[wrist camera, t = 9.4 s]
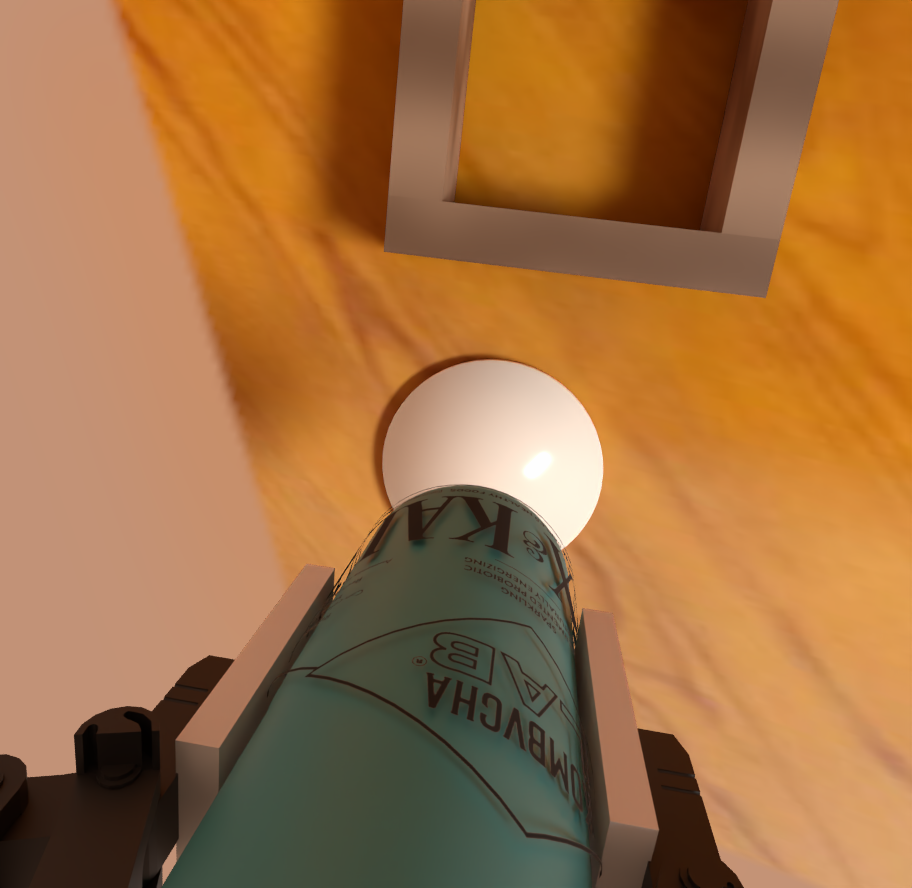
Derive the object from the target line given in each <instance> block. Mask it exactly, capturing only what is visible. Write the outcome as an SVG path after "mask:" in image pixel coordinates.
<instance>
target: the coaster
mask: <svg viewBox="0 0 912 888" xmlns="http://www.w3.org/2000/svg"><path fill="white" fill-rule="evenodd" d="M382 470H383V478H384V484H385V488H386V492H387V495H388V498H389V500H390V503H391V505H392V506H393V507H392V508H394V509H393V510H395V509H396V508H397V507H396V506H400V505H401V503H404V502H406V500H408V499H411V498H413V497H414V496H416V495H419V494H421V493H424V492H426V491H430V490H433V489H437V488H441V487H436V486H442V487H448V486H444V485H450V486H455V485H459V484H466V485H477V486H483V487H487V488H492V489H495V490H498V491H501V492H504V493H506V494H509V495H511V496H513V497H515V498H517V499H519V500H520V501H522V502H523V503H525V504H526V505H528V506H529V507H531V508H532V509H533V510H534V511H533V510H532V509H531V508H529V507H528V506H527V507H528V508H529V509H530V510H531V511H533V512H534V513H535V514H536V515H537V516H538V517H539V518H540V519H541V521H542V522H543V523H544V524H545V525H546V526H547V528H548V529H549V530H550V532H551V533H552V534H553V536H554V537H555V539H556V540H557V543H558V542H559V543H558V544H559V547H560V545H561V548H560V549H561V550H562V549H563V548H564V547H566V546H567V545H568V544H569V543H570V542H571V541H572V540H573V539H574V538H575V537H576V536H577V535H578V534H579V533H580V531H581V530H582V529H583V528H584V526H585V525H586V524H587V522H588V520H589V518H590V517H591V515H592V513H593V511H594V509H595V506H596V504H597V502H598V498H599V495H600V491H601V487H602V479H603V457H602V451H601V445H600V442H599V439H598V435H597V432H596V429H595V427H594V425H593V423H592V420H591V418H590V416H589V414H588V413H587V411H586V410H585V408H584V407H583V405H582V404H581V402H580V401H579V400H578V399H577V398H576V397H575V396H574V394H573V393H572V392H571V391H570V390H569V389H567V388H566V387H565V386H564V385H563V384H562V383H561V382H559V381H558V380H556V379H555V378H553V377H552V376H550V375H549V374H547V373H545V372H543V371H541V370H539V369H537V368H534V367H532V366H529V365H526V364H523V363H519V362H514V361H509V360H501V359H481V360H473V361H468V362H463V363H459V364H456V365H453V366H450V367H448V368H446V369H444V370H442V371H440V372H438V373H436V374H434V375H432V376H431V377H430V378H428V379H427V380H425V381H424V382H422V383H421V384H420V385H419V386H418V387H417V388H416V389H415V390H413V391H412V393H411V394H410V395H409V396H408V397H407V398H406V400H405V401H404V402H403V403H402V404H401V406H400V408H399V409H398V411H397V412H396V414H395V415H394V417H393V420H392V422H391V424H390V426H389V428H388V432H387V435H386V438H385V442H384V449H383V459H382ZM432 487H435V488H432ZM429 488H431V489H429ZM425 489H427V490H425ZM422 490H423V491H422ZM419 491H421V492H419ZM417 492H418V493H417ZM414 493H416V494H414ZM412 494H413V495H412ZM410 495H411V496H410ZM408 496H409V497H408ZM406 497H407V498H406ZM404 498H405V499H404ZM403 499H404V500H403ZM517 499H516V500H517ZM401 500H402V501H401ZM519 500H518V501H519ZM399 501H400V502H399ZM520 501H519V502H520ZM522 502H521V503H522ZM396 503H397V504H396ZM523 503H522V504H523ZM395 504H396V505H395ZM525 504H524V505H525ZM526 505H525V506H526ZM535 511H536V512H537V513H538V514H539V515H540V516H541V517H540V516H539V515H538V514H537V513H536V512H535ZM542 517H543V518H542ZM544 520H545V521H546V522H547V523H548V524H549V525H550V526H551V527H552V528H551V527H550V526H549V525H548V524H547V523H546V522H545V521H544ZM553 530H554V531H555V532H554V531H553ZM555 533H556V534H557V535H556V534H555ZM558 537H559V538H560V539H559V538H558ZM560 540H561V541H560ZM561 542H562V543H561ZM562 544H563V545H562ZM563 546H564V547H563Z"/></svg>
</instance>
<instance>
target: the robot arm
mask: <svg viewBox="0 0 912 888" xmlns="http://www.w3.org/2000/svg"><path fill="white" fill-rule="evenodd" d="M334 572H335V568H330V567H324V566H318V565H311V564H306V565H305V567H304V568H303V569H302V571H301V572H300V573H299V575H298V576H297V577H296V579H295V580H294V581H293V583H292V584H291V585H290V587H289V588H288V589H287V591H286V592H285V593H284V595H283V596H282V598H281V599H280V600H279V602H278V603H277V604H276V606H275V607H274V608H273V610H272V611H271V612H270V614H269V615H268V616H267V618H266V619H265V620H264V622H263V623H262V624H261V626H260V627H259V628H258V630H257V631H256V633H255V634H254V635H253V637H252V638H251V639H250V641H249V642H248V643H247V645H246V646H245V647H244V649H243V650H242V651H241V653H240V654H239V656H238V657H237V658H236V659H235V660H233V659H228V658H222V657H215V656H210V655H209V656H208V657H206V658H204V659H202V660H201V661H199V662H197V663H196V664H194V665H193V666H191V667H189V668H188V669H187V671H186V672H185V673H184V674H183V675H182V676H181V678H180V679H179V680H178V681H177V682H176V684H175V687H172V688H171V690H170V691H169V692H168V693H167V694H166V695H165V697H164V700H161V701H160V703H159V704H158V705H157V706H156V707H155V708H154V710H153V711H152V712H151V711H149V710H147V709H144V708H142V707H131V706H126V707H119V708H114V709H110V710H107V711H104V712H102V713H99V714H97V715H95V716H93V717H92V718H90V719H89V720H88V721H86V722H85V723H83V724H82V725H81V726H80V728H79V729H78V730H77V732H76V733H75V734H74V742H75V758H76V773H71V774H65V775H54V776H41V777H28V778H27V770H26V765H25V764H24V763H23V762H22V761H21V760H20V759H19V758H17V757H13V756H10V755H7V754H5V755H0V888H161V887H162V865H163V863H164V862H165V860H166V859H167V857H168V855H169V854H170V852H171V850H172V849H173V847H174V845H175V844H177V861H178V859H179V857H180V856H181V854H182V852H183V851H184V849H185V847H186V846H187V844H188V842H189V841H190V839H191V837H192V836H193V834H194V832H195V831H196V829H197V827H198V826H199V824H200V822H201V821H202V819H203V817H204V816H205V814H206V812H207V811H208V809H209V807H210V806H211V804H212V802H213V801H214V799H215V797H216V796H217V794H218V792H219V791H220V789H221V787H222V786H223V784H224V782H225V781H226V779H227V777H228V776H229V774H230V772H231V771H232V769H233V767H234V766H235V764H236V762H237V761H238V759H239V757H240V756H241V754H242V752H243V751H244V749H245V747H246V746H247V744H248V742H249V741H250V739H251V737H252V736H253V734H254V732H255V731H256V729H257V727H258V726H259V724H260V722H261V721H262V719H263V717H264V716H265V714H266V712H267V710H268V708H269V705H270V703H271V701H272V699H273V698H274V696H275V694H276V692H277V690H278V689H279V687H280V685H281V684H282V682H283V680H284V679H285V677H286V675H287V674H288V673H286V674H284V675H282V676H280V677H278V676H279V675H280V674H282V673H284V672H286V671H288V670H290V669H291V667H292V666H293V664H294V663H295V661H296V659H297V658H298V656H299V654H300V653H301V651H302V650H303V648H304V646H305V645H306V643H307V642H308V640H309V638H310V637H311V635H312V634H313V632H314V630H315V629H316V627H317V626H318V625H317V626H316V627H313V626H314V625H316V624H318V622H319V621H321V619H322V618H323V616H324V612H325V613H326V610H327V609H328V608H329V606H330V605H331V604H330V603H332V602H333V598H332V596H333V591H332V589H333V587H334ZM331 591H332V593H331V594H332V595H331V594H330V592H331ZM329 594H330V596H329ZM328 596H329V598H328ZM327 598H328V599H327ZM330 598H332V599H330ZM326 599H327V600H326ZM329 599H330V600H329ZM325 601H326V602H325ZM324 602H325V603H326V604H325V605H324V604H323V603H324ZM329 604H330V605H329ZM327 605H328V607H327ZM323 606H324V607H323ZM326 607H327V608H326ZM322 608H323V609H322ZM324 608H325V609H324ZM319 610H320V611H319ZM321 611H323V612H321ZM317 612H318V613H317ZM319 613H321V614H322V615H321V618H320V620H319V618H318V617H319V616H320V614H319ZM318 614H319V615H318ZM315 615H316V616H317V615H318V616H317V617H316V616H315ZM315 617H316V618H315ZM313 618H314V619H315V620H316V619H317V620H316V621H315V620H313ZM318 620H319V621H318ZM312 621H313V622H312ZM311 622H312V623H311ZM310 623H311V624H310ZM310 625H311V627H308V626H310ZM312 627H313V628H312ZM311 628H312V629H311ZM309 629H310V631H309ZM306 630H307V631H306ZM305 631H306V632H307V633H309V635H308V637H306V636H307V633H306V632H305ZM308 631H309V632H308ZM304 632H305V633H304ZM304 634H306V635H305V636H304ZM302 635H303V636H302ZM302 637H303V638H302ZM578 639H579V640H578ZM299 640H300V642H299ZM298 642H299V643H298ZM295 646H296V647H295ZM293 651H294V652H293ZM290 658H291V660H290ZM574 658H575V670H576V683H577V695H578V707H579V715H580V717H579V720H580V718H581V720H580V731H581V733H582V735H583V737H582V735H581V742H582V754H583V766H584V774H585V776H586V778H587V781H588V773H589V782H588V783H587V781H586V778H585V776H584V781H585V789H586V793H587V799H588V806H589V796H590V802H591V813H592V824H593V835H594V838H593V835H592V832H591V820H590V821H589V826H588V831H589V844H590V850H592V851H593V852H594V853H595V854H596V855H597V856H598V857H599V859H600V861H601V863H602V875H601V877H600V878H599V876H600V871H601V865H600V863H599V861H598V860H597V859H596V858H594V857H593V856H592V855H591V854H590V857H591V870H592V888H744V887H743V886H742V884H741V882H740V881H739V879H738V877H737V875H736V874H735V873H734V872H733V871H732V870H731V869H730V868H729V867H727V865H726V864H725V863H724V862H722V861H721V859H720V856H719V853H718V849H717V846H716V843H715V839H714V836H713V833H712V830H711V826H710V823H709V820H708V816H707V813H706V810H705V807H704V803H703V800H702V797H701V796H700V790H699V787H698V784H697V780H696V779H695V774H694V770H693V767H692V764H691V761H690V757H689V754H688V753H687V752H686V750H685V749H684V748H683V747H682V745H681V744H680V743H679V742H678V740H677V739H676V738H675V736H674V735H672V734H666V733H660V732H655V731H649V730H643V729H637V725H636V720H635V715H634V711H633V706H632V701H631V696H630V692H629V687H628V682H627V678H626V673H625V668H624V663H623V659H622V654H621V649H620V645H619V640H618V635H617V631H616V626H615V621H614V616H613V613H609V612H603V611H597V610H590V609H584V608H583V609H582V614H581V620H580V625H579V630H578V635H577V641H576V646H575V654H574ZM289 661H290V662H289ZM277 677H278V678H277ZM276 678H277V679H276ZM275 679H276V680H275ZM274 680H275V681H274ZM273 681H274V682H273ZM272 682H273V683H272ZM268 690H269V694H268V697H267V692H268ZM581 721H582V723H581ZM582 725H583V727H582ZM583 729H584V731H583ZM584 732H585V734H584ZM585 736H586V738H585ZM583 738H584V740H583ZM586 739H587V742H586ZM584 741H585V743H586V749H585V743H584ZM587 743H588V745H587ZM588 748H589V749H588ZM586 751H587V760H586ZM589 754H590V755H589ZM590 759H591V761H590ZM587 762H588V771H587ZM591 765H592V767H591ZM592 771H593V773H592ZM593 780H594V781H593ZM588 784H590V789H589V786H588ZM588 793H589V796H588ZM594 793H595V794H594ZM586 806H587V803H586ZM587 814H588V808H587Z"/></svg>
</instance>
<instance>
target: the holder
mask: <svg viewBox="0 0 912 888" xmlns="http://www.w3.org/2000/svg"><path fill="white" fill-rule="evenodd" d="M838 2H839V0H748V4H747V9H746V14H745V18H744V23H743V28H742V33H741V37H740V42H739V47H738V51H737V56H736V61H735V66H734V70H733V75H732V80H731V85H730V89H729V94H728V99H727V104H726V108H725V113H724V118H723V123H722V127H721V132H720V137H719V142H718V146H717V151H716V156H715V161H714V165H713V170H712V175H711V180H710V184H709V189H708V194H707V198H706V203H705V208H704V213H703V217H702V222H701V227H700V231H698V230H690V229H681V228H672V227H663V226H654V225H646V224H637V223H628V222H619V221H610V220H602V219H593V218H584V217H575V216H567V215H558V214H549V213H540V212H531V211H523V210H514V209H505V208H496V207H487V206H479V205H470V204H461V203H454V201H455V191H456V182H457V172H458V163H459V154H460V144H461V135H462V125H463V116H464V107H465V97H466V88H467V78H468V69H469V60H470V50H471V41H472V31H473V22H474V13H475V3H476V0H404V1H403V14H402V27H401V39H400V52H399V65H398V77H397V90H396V103H395V116H394V128H393V141H392V154H391V167H390V179H389V192H388V205H387V217H386V230H385V243H384V252H391V253H399V254H408V255H416V256H424V257H433V258H441V259H449V260H457V261H466V262H474V263H482V264H490V265H499V266H507V267H515V268H523V269H532V270H540V271H548V272H556V273H565V274H573V275H581V276H589V277H598V278H606V279H614V280H622V281H631V282H639V283H647V284H655V285H664V286H672V287H680V288H688V289H697V290H705V291H713V292H721V293H730V294H738V295H746V296H754V297H763V298H766V295H767V291H768V287H769V282H770V278H771V274H772V270H773V266H774V262H775V258H776V254H777V250H778V246H779V242H780V238H781V234H782V230H783V225H784V221H785V217H786V213H787V209H788V205H789V201H790V197H791V193H792V189H793V185H794V181H795V177H796V173H797V168H798V164H799V160H800V156H801V152H802V148H803V144H804V140H805V136H806V132H807V128H808V124H809V120H810V116H811V111H812V107H813V103H814V99H815V95H816V91H817V87H818V83H819V79H820V75H821V71H822V67H823V63H824V59H825V54H826V50H827V46H828V42H829V38H830V34H831V30H832V26H833V22H834V18H835V14H836V10H837V6H838Z"/></svg>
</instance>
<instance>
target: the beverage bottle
mask: <svg viewBox="0 0 912 888" xmlns="http://www.w3.org/2000/svg"><path fill="white" fill-rule="evenodd" d="M444 486H448V487H442V486H436V487H441V488H437V489H433V490H430V491H426V492H424V493H421V494H419V495H416V496H414V497H413V498H411V499H408V500H406V502H404V503H401V505H400V506H396V507H397V508H396V509H395V510H394V511H393V510H391V511H393V512H392V513H391V514H390V515H389V516H388V517H387V518H385V519H384V521H383V523H382V524H381V525H380V526H379V528H378V529H377V531H376V533H375V534H374V536H373V537H372V539H371V541H370V542H369V544H368V545H367V547H366V549H365V550H364V552H363V553H362V555H361V557H360V556H359V557H360V558H359V560H358V562H357V563H356V562H355V563H356V564H355V565H354V568H353V570H352V571H351V569H350V572H351V573H350V572H349V574H348V576H347V579H346V581H345V582H344V583H343V586H342V587H341V589H340V590H339V592H337V593H338V594H335V593H336V591H337V590H338V588H339V587H340V586H341V583H340V585H339V584H338V586H337V588H336V590H335V592H333V593H334V594H333V596H334V595H335V596H336V597H335V598H334V597H333V596H332V598H334V600H333V602H332V603H330V604H331V605H330V604H329V605H330V606H329V608H328V609H327V610H326V613H325V612H324V616H323V618H322V619H321V621H319V620H320V618H321V615H322V614H321V613H319V614H320V616H319V617H318V618H319V620H318V621H319V622H318V624H316V625H314V626H313V627H316V626H317V625H318V626H317V627H316V629H315V630H314V632H313V634H312V635H311V637H310V638H309V640H308V642H307V643H306V645H305V646H304V648H303V650H302V651H301V653H300V654H299V656H298V658H297V659H296V661H295V663H294V664H293V666H292V667H291V669H290V670H288V671H286V672H284V673H282V674H280V675H279V676H278V677H280V676H282V675H284V674H286V673H288V674H287V675H286V677H285V679H284V680H283V682H282V684H281V685H280V687H279V689H278V690H277V692H276V694H275V696H274V698H273V699H272V701H271V703H270V705H269V708H268V710H267V712H266V714H265V716H264V717H263V719H262V721H261V722H260V724H259V726H258V727H257V729H256V731H255V732H254V734H253V736H252V737H251V739H250V741H249V742H248V744H247V746H246V747H245V749H244V751H243V752H242V754H241V756H240V757H239V759H238V761H237V762H236V764H235V766H234V767H233V769H232V771H231V772H230V774H229V776H228V777H227V779H226V781H225V782H224V784H223V786H222V787H221V789H220V791H219V792H218V794H217V796H216V797H215V799H214V801H213V802H212V804H211V806H210V807H209V809H208V811H207V812H206V814H205V816H204V817H203V819H202V821H201V822H200V824H199V826H198V827H197V829H196V831H195V832H194V834H193V836H192V837H191V839H190V841H189V842H188V844H187V846H186V847H185V849H184V851H183V852H182V854H181V856H180V857H179V859H178V861H177V862H176V864H175V866H174V867H173V869H172V871H171V872H170V874H169V876H168V877H167V879H166V881H165V882H164V884H163V886H162V887H161V888H592V870H591V857H590V854H591V855H592V856H593V857H594V858H596V859H597V860H598V861H599V863H600V865H601V871H600V876H599V878H600V877H601V875H602V863H601V861H600V859H599V857H598V856H597V855H596V854H595V853H594V852H593V851H592V850H590V844H589V831H588V826H589V821H590V820H591V832H592V835H593V824H592V813H591V802H590V796H589V793H588V796H589V806H588V799H587V793H586V789H585V781H584V776H585V774H584V766H583V754H582V742H581V735H582V733H581V731H580V720H581V718H580V720H579V717H580V715H579V707H578V695H577V683H576V670H575V658H574V654H575V650H574V646H576V638H577V635H578V633H577V628H578V618H577V627H576V622H575V617H574V612H573V607H572V602H571V597H570V592H569V581H570V580H571V579H572V577H571V574H570V575H569V576H568V572H567V568H566V563H565V559H564V557H563V554H562V551H561V549H560V548H561V545H560V547H559V544H558V543H559V542H558V543H557V540H556V539H555V537H554V536H553V534H552V533H551V532H550V530H549V529H548V528H547V526H546V525H545V524H544V523H543V522H542V521H541V519H540V518H539V517H538V516H537V515H536V514H535V513H534V512H533V511H534V510H533V509H532V508H531V507H529V506H528V505H526V504H525V503H523V502H522V501H520V500H519V499H517V498H515V497H513V496H511V495H509V494H506V493H504V492H501V491H498V490H495V489H492V488H487V487H483V486H477V485H466V484H459V485H455V486H450V485H444ZM432 488H435V487H432ZM429 489H431V488H429ZM425 490H427V489H425ZM422 491H423V490H422ZM419 492H421V491H419ZM417 493H418V492H417ZM414 494H416V493H414ZM412 495H413V494H412ZM410 496H411V495H410ZM408 497H409V496H408ZM406 498H407V497H406ZM404 499H405V498H404ZM404 499H403V500H404ZM516 499H517V500H516ZM518 500H519V501H520V502H519V501H518ZM401 501H402V500H401ZM399 502H400V501H399ZM521 502H522V503H523V504H522V503H521ZM396 504H397V503H396ZM396 504H395V505H396ZM524 504H525V505H526V506H525V505H524ZM527 506H528V507H529V508H531V509H532V510H533V511H531V510H530V509H529V508H528V507H527ZM392 507H393V506H392ZM392 507H391V508H392ZM393 509H394V508H393ZM386 512H387V511H386ZM386 512H385V513H386ZM535 512H536V511H535ZM385 513H384V514H385ZM388 513H390V512H388ZM536 513H537V512H536ZM384 514H383V515H384ZM537 514H538V513H537ZM383 515H382V516H383ZM386 515H387V513H386ZM538 515H539V514H538ZM382 516H381V517H382ZM384 516H385V515H384ZM384 516H383V517H384ZM539 516H540V515H539ZM381 517H380V518H381ZM540 517H541V516H540ZM380 518H379V519H380ZM542 518H543V517H542ZM380 520H381V519H380ZM544 521H545V520H544ZM381 522H382V521H381ZM381 522H380V523H381ZM545 522H546V521H545ZM377 523H378V522H377ZM377 523H375V525H376V524H377ZM380 523H379V524H380ZM546 523H547V522H546ZM379 524H378V525H379ZM547 524H548V523H547ZM378 525H377V526H378ZM548 525H549V524H548ZM377 526H376V527H377ZM549 526H550V525H549ZM376 527H375V528H376ZM550 527H551V526H550ZM375 528H374V529H375ZM551 528H552V527H551ZM372 529H373V528H372ZM372 529H371V530H372ZM374 529H373V530H374ZM371 530H370V531H371ZM373 530H372V531H373ZM372 531H371V532H372ZM553 531H554V530H553ZM371 532H370V533H371ZM554 532H555V531H554ZM370 533H368V534H370ZM555 534H556V533H555ZM556 535H557V534H556ZM368 536H369V535H368ZM368 536H367V537H368ZM558 538H559V537H558ZM366 539H367V538H366ZM366 539H365V540H366ZM559 539H560V538H559ZM560 541H561V540H560ZM364 542H365V541H364ZM561 543H562V542H561ZM362 544H363V543H362ZM362 544H361V546H362ZM562 545H563V544H562ZM362 547H363V546H362ZM563 547H564V546H563ZM358 550H359V549H358ZM565 550H566V549H565ZM359 551H360V550H359ZM360 553H361V552H360ZM563 553H564V551H563ZM356 554H357V552H356ZM356 554H355V555H354V557H355V556H356ZM564 555H565V553H564ZM567 555H568V554H567ZM357 556H358V555H357ZM354 557H353V558H352V560H353V559H355V558H354ZM568 558H569V557H568ZM566 559H567V556H566ZM352 560H351V561H350V563H351V562H352ZM353 561H354V560H353ZM355 561H357V557H356V560H355ZM567 561H568V559H567ZM569 561H570V560H569ZM350 563H349V565H350ZM570 563H571V562H570ZM352 564H353V563H352ZM349 565H348V566H349ZM348 566H347V568H348ZM569 567H570V564H569ZM347 568H346V569H347ZM351 568H352V565H351ZM346 569H345V571H346ZM568 570H569V569H568ZM345 571H344V572H343V574H344V573H345ZM572 572H573V571H572ZM569 573H570V571H569ZM343 574H342V575H341V577H342V576H343ZM341 577H340V578H339V580H341ZM339 580H338V582H340V581H339ZM572 581H574V580H572ZM338 582H337V583H338ZM337 583H336V585H337ZM336 585H335V586H334V587H333V589H332V591H333V590H334V588H335V587H336ZM574 588H575V587H574ZM332 591H331V592H330V594H331V593H332ZM574 592H575V589H574ZM330 594H329V596H330ZM331 595H332V594H331ZM329 596H328V598H329ZM575 597H576V596H575ZM328 598H327V599H328ZM332 598H330V599H332ZM327 599H326V600H327ZM330 599H329V600H330ZM575 599H576V598H575ZM325 602H326V601H325ZM325 602H324V603H323V604H324V605H325V604H326V603H325ZM573 604H574V602H573ZM574 606H575V605H574ZM323 607H324V606H323ZM327 607H328V605H327ZM327 607H326V608H327ZM576 608H577V607H576ZM322 609H323V608H322ZM324 609H325V608H324ZM319 611H320V610H319ZM574 611H575V608H574ZM321 612H323V611H321ZM317 613H318V612H317ZM319 614H318V615H319ZM318 615H317V616H318ZM571 615H572V618H571ZM315 616H316V615H315ZM317 616H316V617H317ZM316 617H315V618H316ZM313 620H315V619H314V618H313ZM316 620H317V619H316ZM316 620H315V621H316ZM312 622H313V621H312ZM312 622H311V623H312ZM572 622H573V625H574V626H573V631H572ZM311 623H310V624H311ZM308 627H311V625H310V626H308ZM313 627H312V628H313ZM574 627H575V630H576V633H577V634H576V637H575V632H574ZM312 628H311V629H312ZM578 630H579V628H578ZM306 631H307V630H306ZM306 631H305V632H306ZM309 631H310V629H309ZM309 631H308V632H309ZM305 632H304V633H305ZM306 633H307V632H306ZM305 635H306V634H304V636H305ZM308 635H309V633H307V636H306V637H308ZM302 636H303V635H302ZM573 637H574V642H575V644H574V645H573V643H574V642H573ZM302 638H303V637H302ZM578 640H579V639H578ZM299 642H300V640H299ZM299 642H298V643H299ZM295 647H296V646H295ZM293 652H294V651H293ZM290 660H291V658H290ZM289 662H290V661H289ZM278 677H277V678H278ZM277 678H276V679H277ZM276 679H275V680H276ZM275 680H274V681H275ZM274 681H273V682H274ZM273 682H272V683H273ZM268 694H269V690H268V692H267V697H268ZM581 723H582V721H581ZM582 727H583V725H582ZM583 731H584V729H583ZM584 734H585V732H584ZM582 737H583V735H582ZM585 738H586V736H585ZM583 740H584V738H583ZM586 742H587V739H586ZM584 743H585V741H584ZM587 745H588V743H587ZM585 749H586V743H585ZM588 749H589V748H588ZM589 755H590V754H589ZM586 760H587V751H586ZM590 761H591V759H590ZM591 767H592V765H591ZM587 771H588V762H587ZM592 773H593V771H592ZM585 778H586V776H585ZM586 781H587V778H586ZM593 781H594V780H593ZM588 782H589V773H588V781H587V783H588ZM588 786H589V789H590V784H588ZM594 794H595V793H594ZM586 803H587V806H586ZM587 808H588V814H587ZM593 838H594V835H593Z"/></svg>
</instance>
